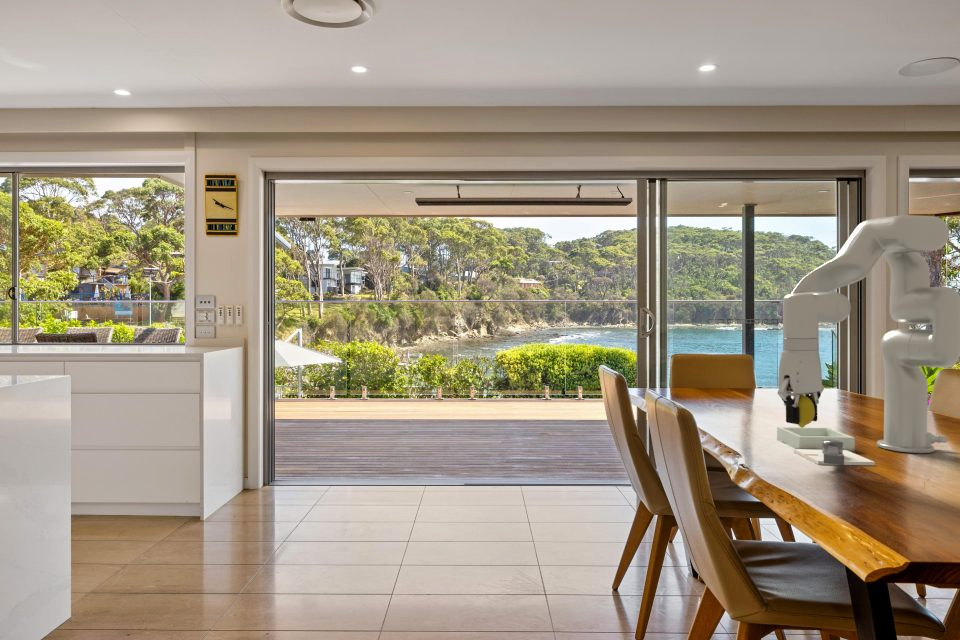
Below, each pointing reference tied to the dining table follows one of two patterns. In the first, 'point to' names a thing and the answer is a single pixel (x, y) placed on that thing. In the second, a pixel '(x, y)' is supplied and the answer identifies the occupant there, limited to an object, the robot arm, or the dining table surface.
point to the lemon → (805, 410)
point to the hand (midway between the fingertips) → (801, 421)
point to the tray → (813, 437)
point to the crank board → (818, 458)
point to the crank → (833, 452)
